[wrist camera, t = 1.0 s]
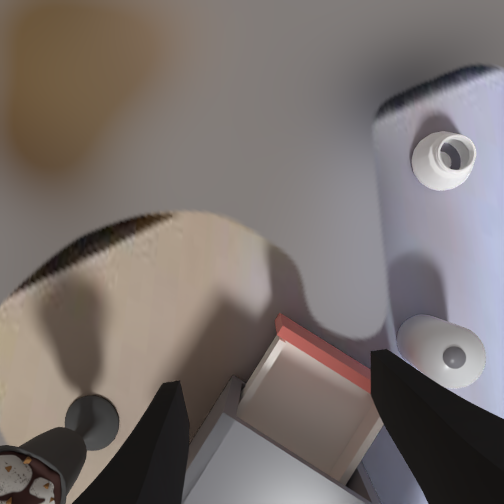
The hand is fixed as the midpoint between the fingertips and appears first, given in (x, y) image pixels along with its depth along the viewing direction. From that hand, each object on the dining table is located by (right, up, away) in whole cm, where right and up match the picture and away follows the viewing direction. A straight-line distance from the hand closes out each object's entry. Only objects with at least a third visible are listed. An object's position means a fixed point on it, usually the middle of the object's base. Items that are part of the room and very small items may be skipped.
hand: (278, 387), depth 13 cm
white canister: (+14, -3, +18) cm, 23 cm away
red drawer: (+4, -8, +17) cm, 19 cm away
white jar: (+15, +13, +18) cm, 27 cm away
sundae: (-15, -10, +19) cm, 26 cm away
